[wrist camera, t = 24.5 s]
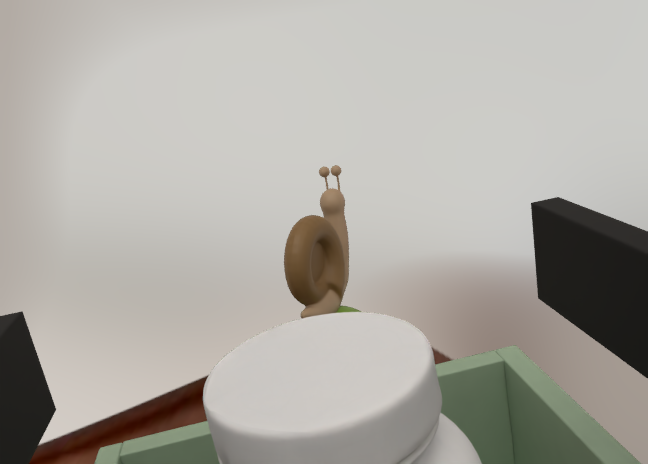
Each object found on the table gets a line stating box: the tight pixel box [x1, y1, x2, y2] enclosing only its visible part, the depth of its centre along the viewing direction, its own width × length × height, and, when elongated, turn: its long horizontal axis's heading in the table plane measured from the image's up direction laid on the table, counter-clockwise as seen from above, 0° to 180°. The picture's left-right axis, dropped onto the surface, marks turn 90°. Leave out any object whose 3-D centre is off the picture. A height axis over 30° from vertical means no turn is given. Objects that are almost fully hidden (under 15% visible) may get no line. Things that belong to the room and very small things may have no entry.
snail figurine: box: [284, 165, 361, 318], centre depth 30 cm, size 5×6×12 cm
